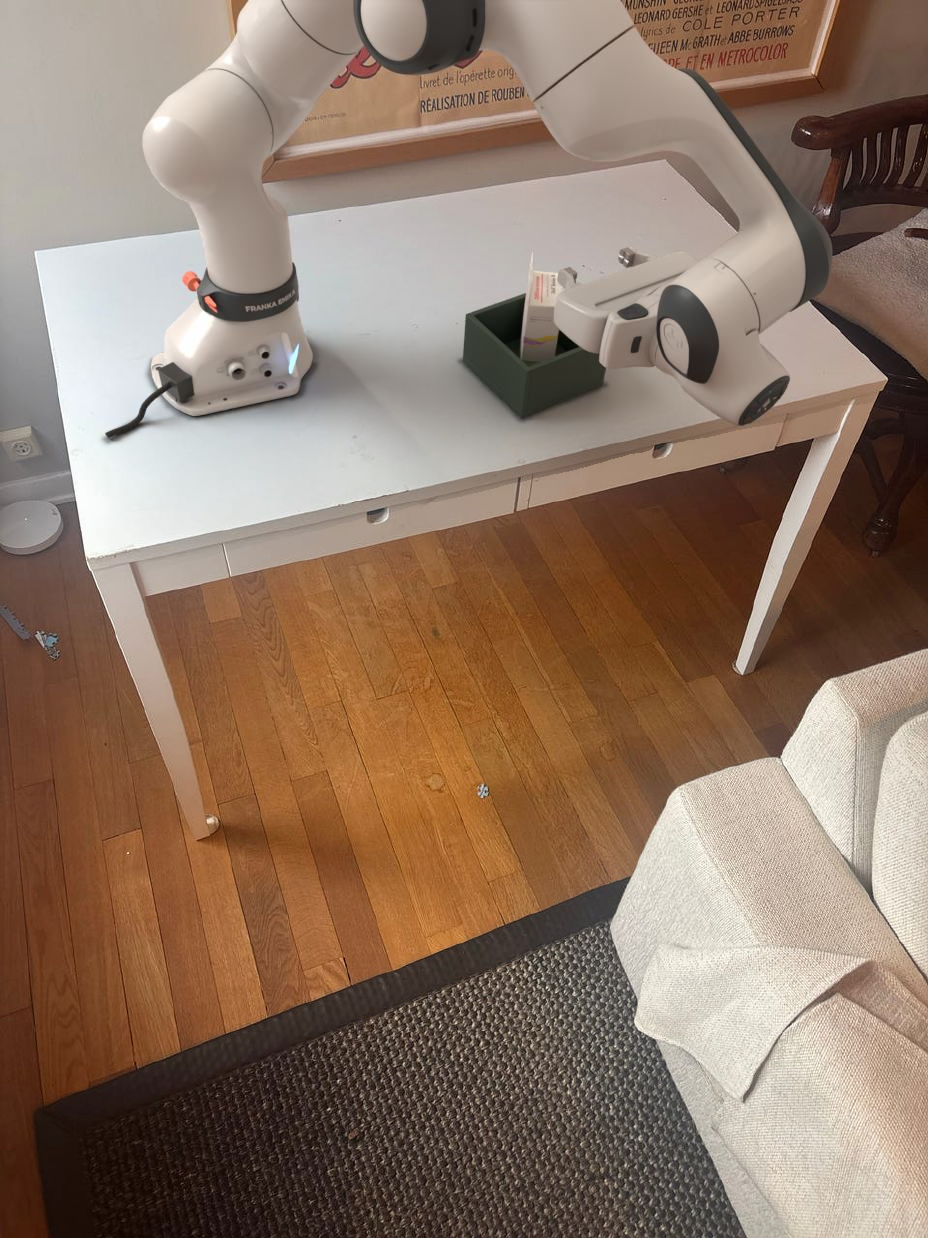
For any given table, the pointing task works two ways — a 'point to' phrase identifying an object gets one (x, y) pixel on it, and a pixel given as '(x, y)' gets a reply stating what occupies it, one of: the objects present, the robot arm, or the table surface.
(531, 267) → the ink box
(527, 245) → the table surface
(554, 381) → the open storage bin
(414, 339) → the table surface
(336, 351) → the table surface
